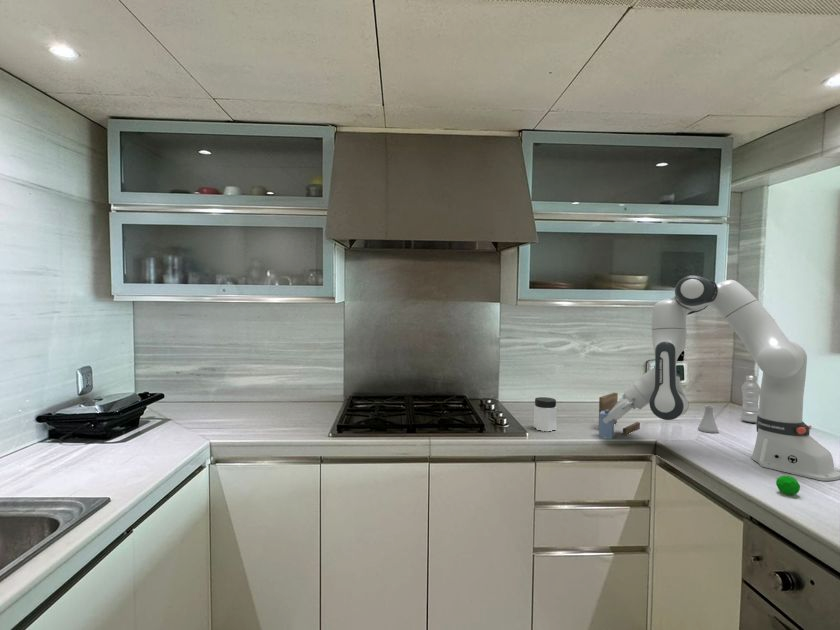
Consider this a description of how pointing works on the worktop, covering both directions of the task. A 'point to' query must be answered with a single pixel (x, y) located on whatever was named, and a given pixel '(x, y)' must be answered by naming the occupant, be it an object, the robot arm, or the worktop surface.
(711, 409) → the flask
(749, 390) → the plastic bottle
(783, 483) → the polyhedron
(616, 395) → the cleat board
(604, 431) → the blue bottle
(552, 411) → the jar
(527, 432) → the worktop surface
